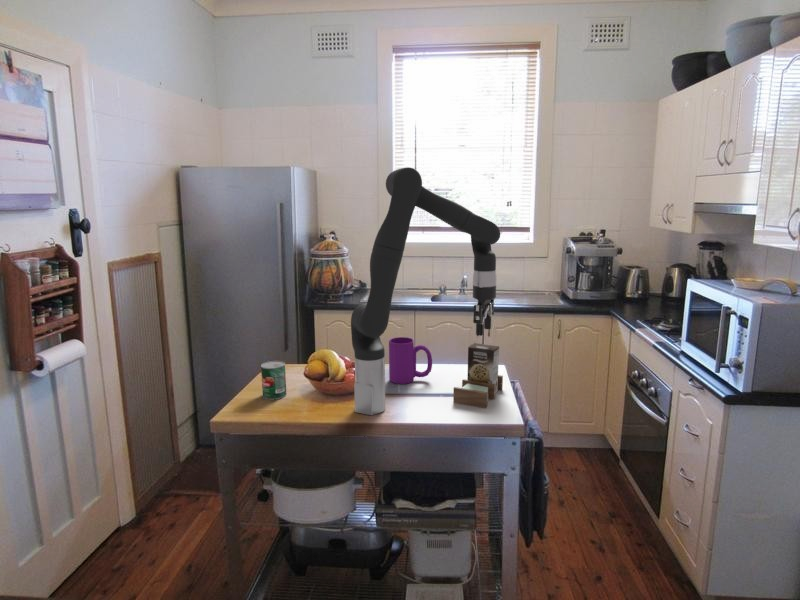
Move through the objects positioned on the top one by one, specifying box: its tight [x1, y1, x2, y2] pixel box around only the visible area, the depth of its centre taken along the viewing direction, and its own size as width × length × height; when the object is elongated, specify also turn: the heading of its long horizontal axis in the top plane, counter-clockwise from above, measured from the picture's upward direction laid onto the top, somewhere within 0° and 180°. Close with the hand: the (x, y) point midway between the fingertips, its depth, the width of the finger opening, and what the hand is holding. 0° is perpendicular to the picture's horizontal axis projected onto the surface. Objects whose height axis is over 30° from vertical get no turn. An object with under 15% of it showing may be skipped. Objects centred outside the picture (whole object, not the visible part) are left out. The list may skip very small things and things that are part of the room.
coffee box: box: [466, 342, 500, 394], centre depth 177 cm, size 9×6×16 cm
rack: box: [452, 374, 504, 409], centre depth 174 cm, size 18×11×5 cm, turn 153°
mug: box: [388, 336, 433, 385], centre depth 189 cm, size 9×16×15 cm, turn 90°
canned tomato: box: [260, 360, 287, 401], centre depth 176 cm, size 8×8×11 cm
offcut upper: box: [461, 384, 488, 392], centre depth 170 cm, size 5×7×2 cm, turn 58°
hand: (483, 332), depth 174 cm, fingers open, 8 cm apart
